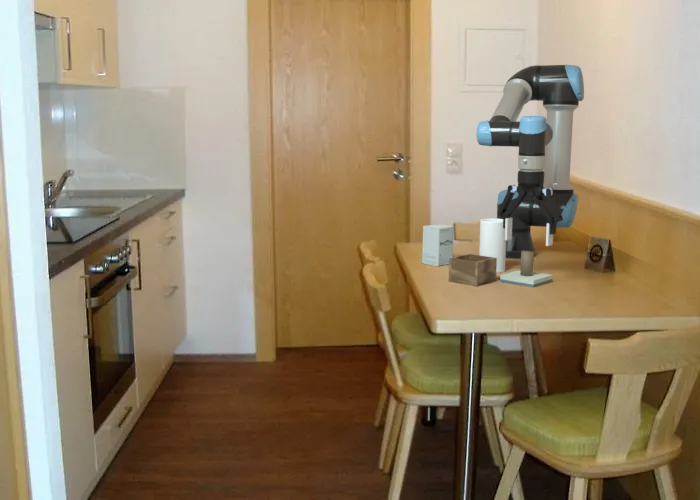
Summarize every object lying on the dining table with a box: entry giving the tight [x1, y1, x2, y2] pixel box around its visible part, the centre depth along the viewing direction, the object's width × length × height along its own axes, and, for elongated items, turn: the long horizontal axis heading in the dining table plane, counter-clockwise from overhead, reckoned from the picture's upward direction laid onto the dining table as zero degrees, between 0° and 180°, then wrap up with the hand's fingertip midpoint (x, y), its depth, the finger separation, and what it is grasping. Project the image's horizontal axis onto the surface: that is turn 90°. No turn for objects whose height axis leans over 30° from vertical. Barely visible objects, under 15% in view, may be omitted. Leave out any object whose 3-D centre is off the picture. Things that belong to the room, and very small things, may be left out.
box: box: [448, 253, 497, 287], centre depth 245 cm, size 10×10×7 cm
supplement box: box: [421, 224, 455, 267], centre depth 272 cm, size 7×7×13 cm
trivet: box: [499, 278, 553, 288], centre depth 245 cm, size 11×11×1 cm
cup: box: [478, 218, 507, 274], centre depth 261 cm, size 8×8×16 cm
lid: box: [500, 251, 553, 285], centre depth 244 cm, size 11×11×8 cm
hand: (528, 242), depth 244 cm, fingers open, 13 cm apart
